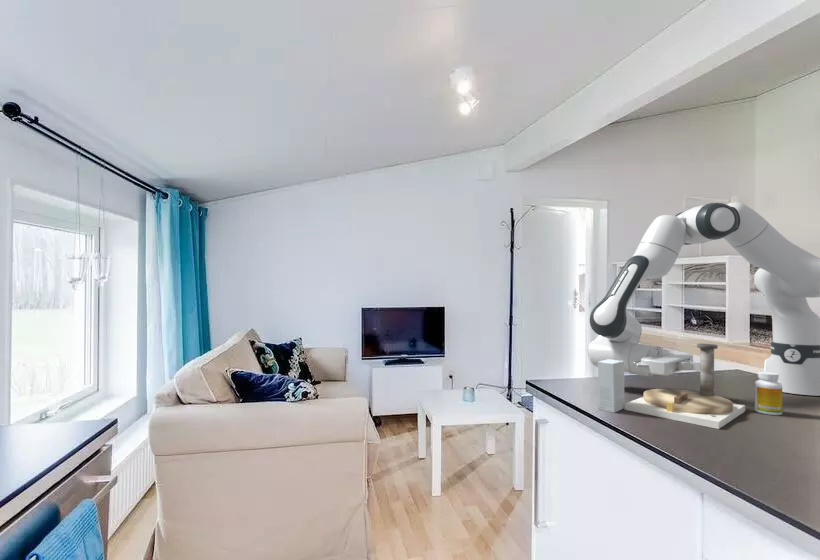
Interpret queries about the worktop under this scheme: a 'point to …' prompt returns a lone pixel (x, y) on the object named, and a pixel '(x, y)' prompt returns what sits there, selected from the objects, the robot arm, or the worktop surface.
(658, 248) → the robot arm
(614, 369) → the skincare box
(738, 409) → the dial stand
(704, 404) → the dial
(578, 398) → the worktop surface
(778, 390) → the supplement bottle
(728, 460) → the worktop surface
